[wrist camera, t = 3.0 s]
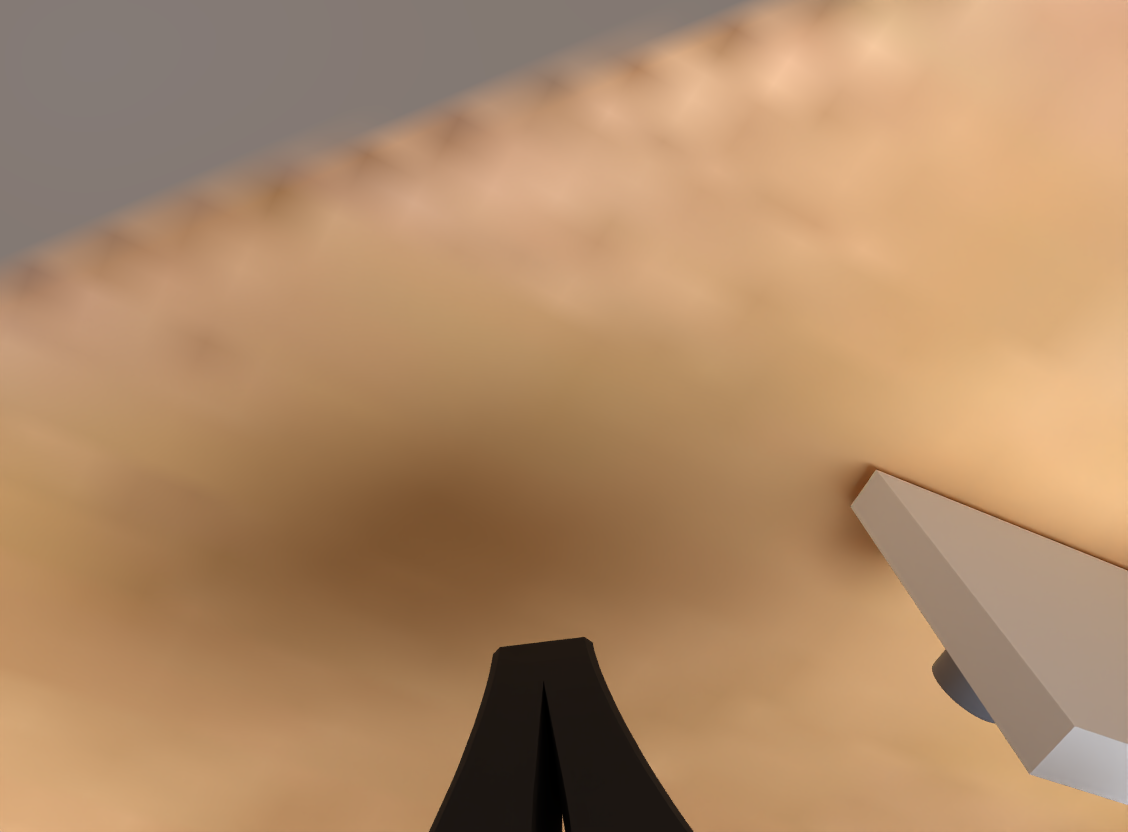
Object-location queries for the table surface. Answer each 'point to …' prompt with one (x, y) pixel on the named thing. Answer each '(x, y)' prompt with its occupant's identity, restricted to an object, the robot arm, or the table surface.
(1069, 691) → the door
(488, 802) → the robot arm
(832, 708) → the table surface
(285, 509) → the table surface
